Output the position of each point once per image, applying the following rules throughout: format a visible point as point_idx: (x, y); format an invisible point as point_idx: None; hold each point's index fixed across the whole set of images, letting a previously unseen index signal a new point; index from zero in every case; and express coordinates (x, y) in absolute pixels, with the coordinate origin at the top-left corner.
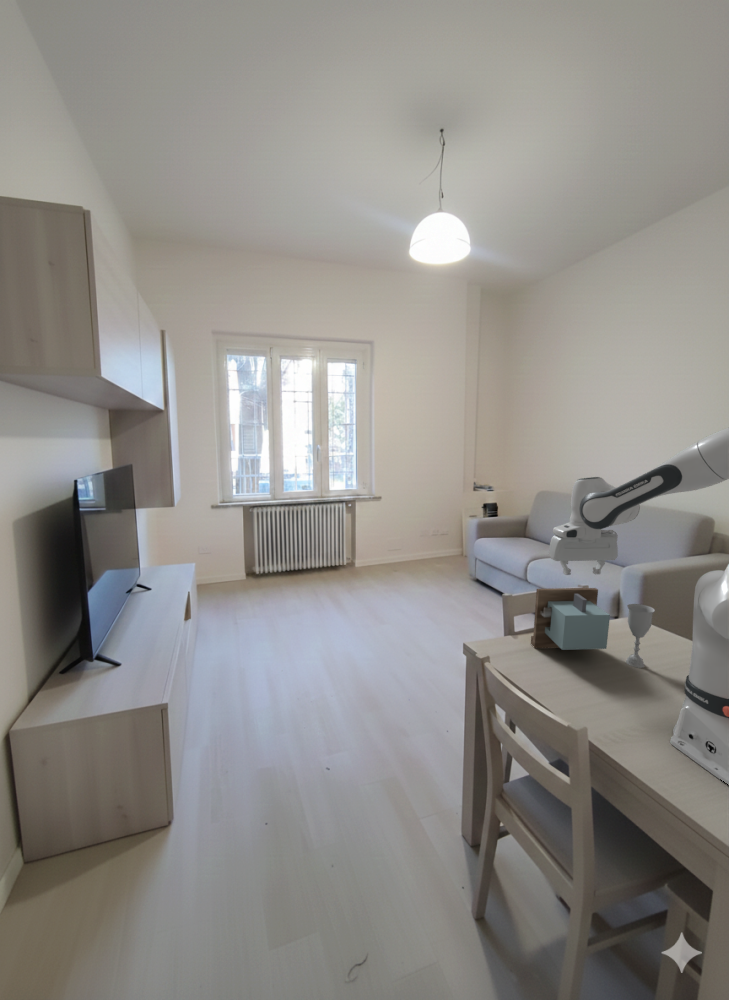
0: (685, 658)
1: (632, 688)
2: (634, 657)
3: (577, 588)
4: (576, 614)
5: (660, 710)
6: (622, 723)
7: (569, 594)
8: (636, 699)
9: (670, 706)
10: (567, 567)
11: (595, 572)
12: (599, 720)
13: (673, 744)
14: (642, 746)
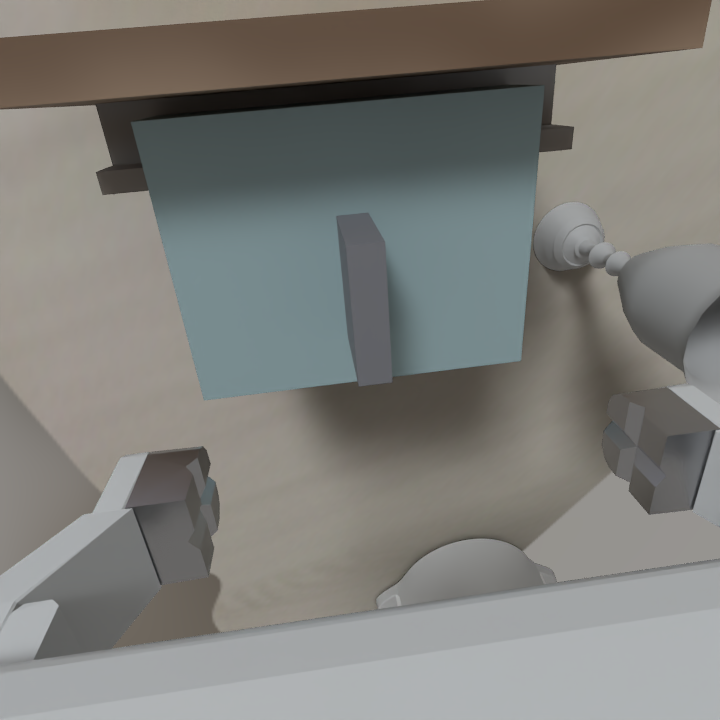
0: None
1: (434, 406)
2: (569, 256)
3: (485, 13)
4: (291, 376)
5: (441, 497)
6: (305, 553)
7: (359, 78)
8: (408, 459)
9: (482, 479)
10: (126, 628)
11: (616, 466)
12: (250, 550)
13: (377, 607)
14: (308, 610)
